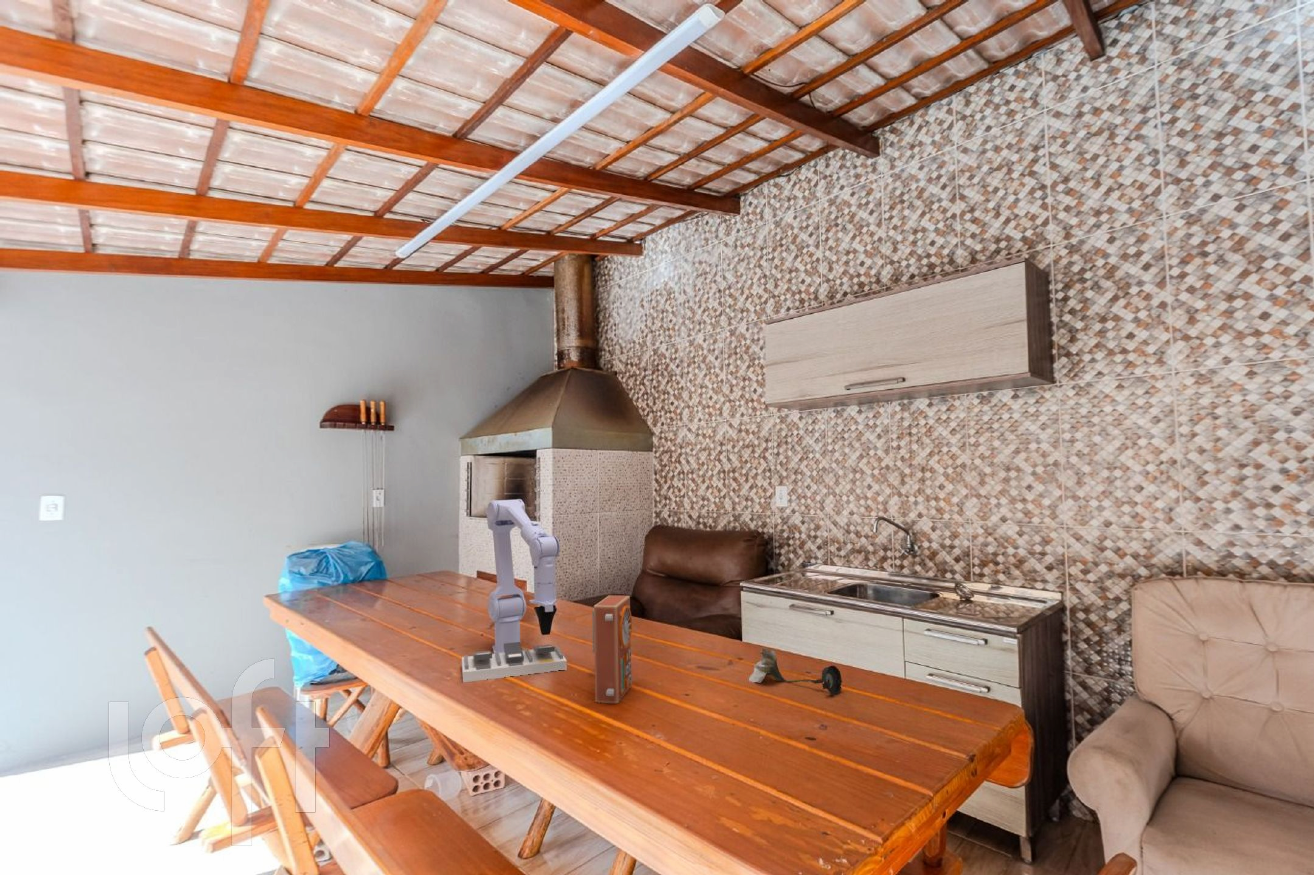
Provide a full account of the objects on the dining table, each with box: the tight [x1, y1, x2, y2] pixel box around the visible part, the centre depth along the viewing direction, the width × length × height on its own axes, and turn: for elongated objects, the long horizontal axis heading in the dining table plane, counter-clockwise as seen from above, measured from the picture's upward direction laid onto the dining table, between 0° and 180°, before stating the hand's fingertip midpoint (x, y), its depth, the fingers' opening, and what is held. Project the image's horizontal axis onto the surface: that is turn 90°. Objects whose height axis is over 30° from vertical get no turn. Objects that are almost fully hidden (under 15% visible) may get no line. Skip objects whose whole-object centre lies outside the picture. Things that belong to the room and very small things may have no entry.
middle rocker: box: [504, 641, 524, 663], centre depth 170 cm, size 9×4×1 cm, turn 18°
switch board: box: [461, 645, 568, 683], centre depth 169 cm, size 14×26×4 cm, turn 108°
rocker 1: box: [472, 650, 493, 660], centre depth 167 cm, size 9×4×1 cm, turn 18°
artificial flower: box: [748, 648, 843, 698], centre depth 151 cm, size 9×22×10 cm, turn 47°
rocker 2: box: [532, 644, 555, 653], centre depth 172 cm, size 9×4×1 cm, turn 18°
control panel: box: [591, 594, 633, 705], centre depth 149 cm, size 21×7×15 cm
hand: (545, 634), depth 169 cm, fingers closed
